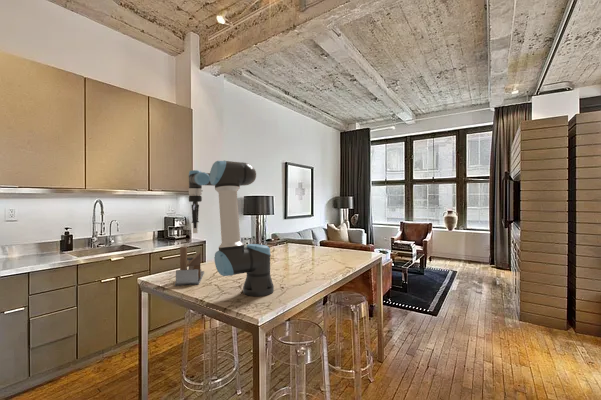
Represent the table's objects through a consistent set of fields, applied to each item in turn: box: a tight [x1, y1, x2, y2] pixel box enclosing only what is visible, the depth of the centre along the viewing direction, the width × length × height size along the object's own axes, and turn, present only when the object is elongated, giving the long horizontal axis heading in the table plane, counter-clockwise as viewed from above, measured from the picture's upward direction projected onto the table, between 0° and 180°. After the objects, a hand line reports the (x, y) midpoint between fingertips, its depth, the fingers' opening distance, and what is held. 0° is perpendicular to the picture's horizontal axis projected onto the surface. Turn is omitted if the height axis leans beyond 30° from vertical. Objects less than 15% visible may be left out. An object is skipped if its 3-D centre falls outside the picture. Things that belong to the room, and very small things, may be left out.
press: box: [174, 268, 205, 287], centre depth 160 cm, size 24×12×8 cm, turn 12°
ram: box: [187, 256, 195, 269], centre depth 162 cm, size 5×6×10 cm
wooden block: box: [179, 245, 202, 278], centre depth 157 cm, size 4×11×18 cm, turn 114°
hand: (195, 233), depth 175 cm, fingers closed
